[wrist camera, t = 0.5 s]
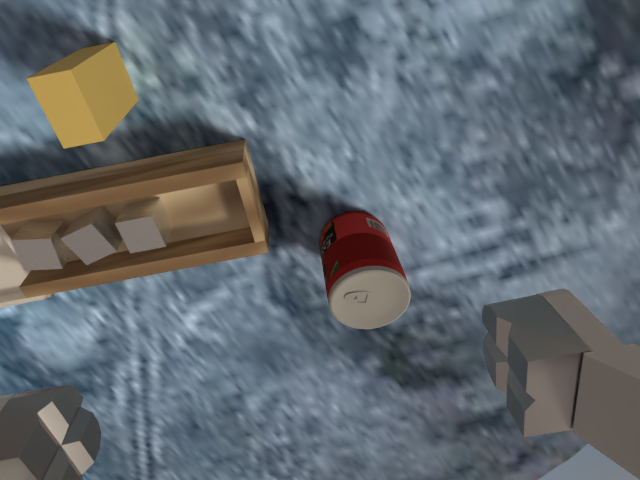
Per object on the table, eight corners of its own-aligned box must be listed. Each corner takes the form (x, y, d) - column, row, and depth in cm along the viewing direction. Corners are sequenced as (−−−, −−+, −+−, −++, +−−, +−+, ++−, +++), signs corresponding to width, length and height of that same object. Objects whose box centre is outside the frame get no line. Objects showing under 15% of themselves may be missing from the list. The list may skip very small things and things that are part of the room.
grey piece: (74, 218, 43) (60, 238, 40) (103, 204, 43) (91, 223, 40) (98, 244, 45) (86, 265, 42) (126, 231, 44) (116, 251, 42)
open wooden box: (-3, 187, 43) (-35, 215, 39) (245, 139, 43) (242, 162, 38) (49, 265, 49) (27, 298, 44) (268, 223, 48) (268, 252, 44)
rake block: (80, 48, 37) (26, 78, 29) (115, 41, 37) (70, 69, 29) (106, 106, 40) (63, 148, 32) (138, 100, 40) (104, 140, 32)
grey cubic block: (125, 204, 43) (114, 223, 40) (160, 197, 43) (152, 216, 40) (139, 233, 45) (130, 253, 42) (172, 227, 45) (166, 246, 42)
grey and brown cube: (27, 220, 43) (10, 240, 40) (65, 218, 43) (50, 238, 40) (40, 249, 45) (24, 270, 42) (75, 247, 45) (62, 268, 42)
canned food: (315, 213, 48) (325, 275, 39) (386, 204, 49) (413, 264, 40) (321, 267, 53) (332, 335, 44) (386, 259, 53) (410, 324, 44)
